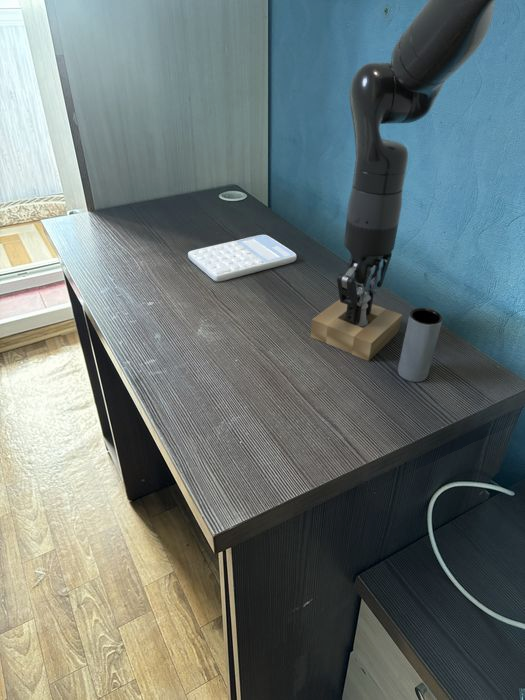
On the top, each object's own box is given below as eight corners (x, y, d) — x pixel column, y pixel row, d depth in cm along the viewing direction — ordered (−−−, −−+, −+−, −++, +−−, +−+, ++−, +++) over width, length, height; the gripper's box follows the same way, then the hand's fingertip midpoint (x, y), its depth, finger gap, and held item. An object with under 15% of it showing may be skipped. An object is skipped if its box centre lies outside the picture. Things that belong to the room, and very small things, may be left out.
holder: (398, 332, 89) (402, 314, 87) (368, 361, 81) (371, 343, 79) (343, 311, 94) (345, 294, 92) (310, 336, 87) (312, 319, 85)
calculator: (186, 258, 110) (185, 250, 109) (265, 239, 119) (265, 232, 118) (215, 283, 101) (215, 275, 100) (298, 261, 110) (299, 253, 109)
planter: (398, 380, 78) (410, 322, 72) (396, 362, 81) (408, 306, 75) (429, 384, 77) (444, 325, 71) (426, 366, 81) (440, 309, 75)
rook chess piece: (371, 330, 88) (378, 288, 84) (364, 343, 85) (371, 301, 80) (346, 323, 90) (351, 282, 85) (338, 336, 87) (343, 294, 82)
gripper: (373, 238, 69) (356, 344, 79) (416, 210, 79) (397, 308, 89) (325, 225, 73) (315, 328, 83) (372, 199, 82) (358, 295, 92)
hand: (358, 317), depth 86 cm, fingers closed on rook chess piece, 3 cm apart
